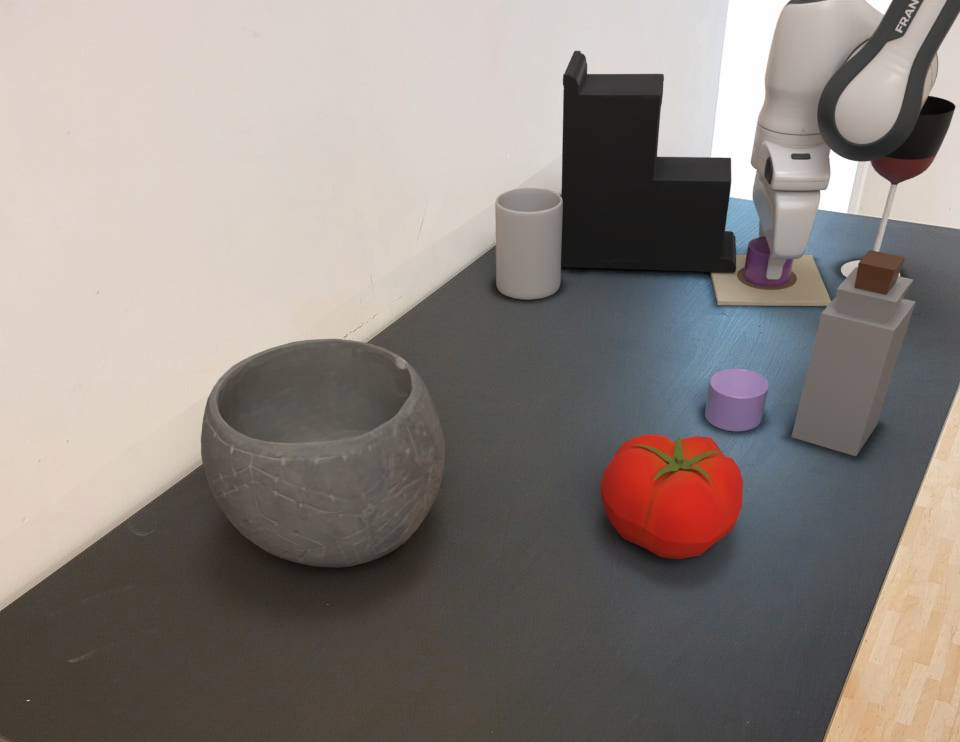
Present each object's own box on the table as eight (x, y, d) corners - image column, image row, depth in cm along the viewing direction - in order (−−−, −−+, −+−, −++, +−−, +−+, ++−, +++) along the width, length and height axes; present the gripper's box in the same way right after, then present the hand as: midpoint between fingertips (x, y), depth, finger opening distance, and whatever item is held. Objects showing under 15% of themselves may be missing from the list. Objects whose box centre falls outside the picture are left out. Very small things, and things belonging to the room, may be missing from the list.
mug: (557, 301, 120) (560, 214, 112) (491, 298, 121) (490, 211, 114) (565, 262, 129) (568, 178, 121) (504, 260, 130) (503, 176, 122)
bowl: (186, 524, 89) (142, 383, 79) (365, 441, 99) (347, 305, 88) (305, 641, 78) (272, 494, 67) (495, 535, 87) (493, 391, 76)
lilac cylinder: (757, 401, 102) (764, 368, 99) (765, 432, 98) (772, 398, 95) (702, 401, 102) (707, 367, 100) (707, 431, 98) (712, 397, 95)
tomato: (773, 549, 84) (793, 468, 78) (661, 598, 80) (673, 516, 74) (678, 473, 93) (689, 394, 87) (572, 514, 89) (576, 434, 83)
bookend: (735, 241, 130) (761, 46, 114) (735, 274, 123) (763, 71, 106) (568, 238, 134) (570, 50, 118) (559, 271, 127) (559, 74, 110)
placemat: (811, 259, 127) (812, 254, 127) (830, 306, 117) (831, 300, 117) (706, 258, 128) (707, 253, 128) (717, 305, 118) (718, 300, 118)
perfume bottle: (791, 437, 97) (832, 265, 84) (814, 407, 101) (857, 239, 88) (856, 456, 94) (909, 282, 82) (876, 425, 98) (930, 254, 85)
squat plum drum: (740, 266, 125) (745, 236, 122) (786, 266, 124) (792, 236, 121) (745, 286, 120) (751, 255, 118) (793, 286, 120) (800, 255, 117)
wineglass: (909, 286, 120) (961, 115, 106) (839, 283, 122) (882, 114, 107) (900, 260, 126) (948, 94, 112) (833, 258, 127) (872, 93, 113)
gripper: (752, 121, 119) (734, 232, 129) (776, 180, 104) (753, 299, 114) (803, 121, 118) (780, 232, 128) (833, 180, 104) (806, 300, 114)
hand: (768, 264), depth 121 cm, fingers closed on squat plum drum, 6 cm apart
